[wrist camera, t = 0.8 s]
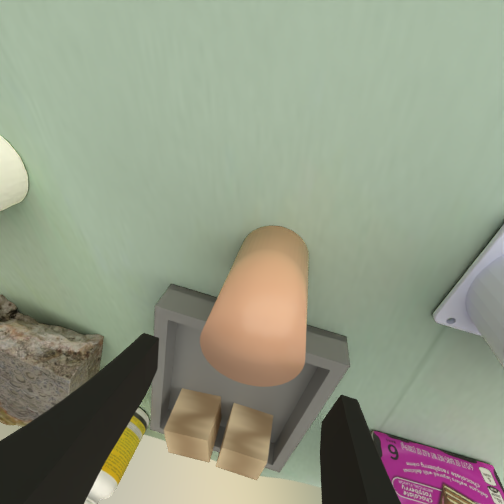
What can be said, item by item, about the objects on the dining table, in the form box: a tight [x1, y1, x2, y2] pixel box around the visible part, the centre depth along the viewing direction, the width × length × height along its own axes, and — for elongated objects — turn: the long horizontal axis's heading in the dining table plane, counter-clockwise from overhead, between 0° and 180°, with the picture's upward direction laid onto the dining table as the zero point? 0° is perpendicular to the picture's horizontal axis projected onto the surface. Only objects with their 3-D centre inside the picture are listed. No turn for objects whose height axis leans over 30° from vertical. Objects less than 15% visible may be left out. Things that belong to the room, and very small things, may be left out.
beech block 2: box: [216, 403, 273, 480], centre depth 27 cm, size 4×4×4 cm
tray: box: [150, 284, 350, 472], centre depth 25 cm, size 14×18×3 cm
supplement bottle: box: [84, 407, 149, 504], centre depth 30 cm, size 5×5×10 cm
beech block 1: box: [164, 388, 221, 462], centre depth 27 cm, size 4×4×4 cm
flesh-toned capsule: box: [200, 226, 309, 387], centre depth 15 cm, size 5×5×8 cm
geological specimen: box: [0, 295, 104, 427], centre depth 28 cm, size 11×6×15 cm
